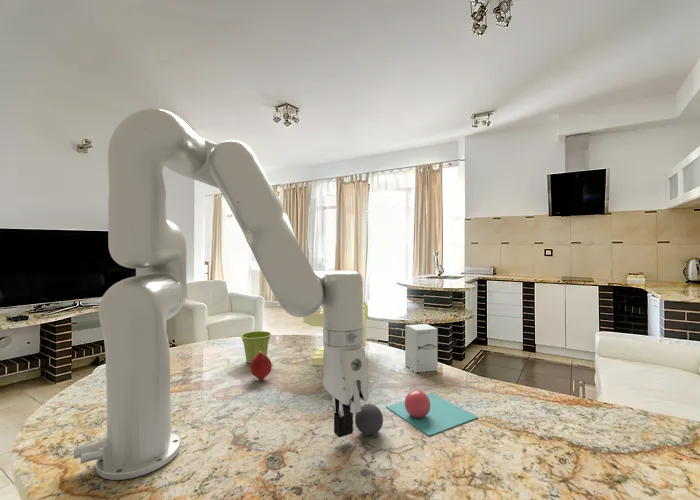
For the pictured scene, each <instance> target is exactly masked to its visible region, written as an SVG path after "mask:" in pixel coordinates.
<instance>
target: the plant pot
mask: <svg viewBox="0 0 700 500" xmlns="http://www.w3.org/2000/svg"><path fill="white" fill-rule="evenodd" d="M271 336H272V333H271V332H270V331H264V330H263V331H262V330H258V331H257V330H255V331H249V332H245V333H242V334H241V335H240V338H241V339H242V342H243V346H244V352H245V353H244V354H245V360H246V361H245V362H246V363H247V364H251V361H252V360H253V358H254V357H255V356H257V355H258V353H259V351H261V352H262V353H263V354H265V355H266V356H267V357H268V348H269V341H270V339H271V338H270V337H271Z"/></svg>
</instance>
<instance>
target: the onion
mask: <svg viewBox="0 0 700 500" xmlns="http://www.w3.org/2000/svg"><path fill="white" fill-rule="evenodd" d="M249 364H250V366H249V370H250V371H249V372H250V373H251V374H252V375H253V376H254V377H255V378H257V380H259V381H262V380H263V379H265V378H266V377H267V376H268V375H269V374H271V371H272V368H273V366H272V365H273V364H272V360H271V359H270V357H268V355H267V356H266V355H265V354H263V353H262V352H261V351H259V353H258V355H257V356H255V357H254V358H253V360H252V361H251V363H249Z"/></svg>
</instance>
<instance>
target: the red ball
mask: <svg viewBox="0 0 700 500" xmlns="http://www.w3.org/2000/svg"><path fill="white" fill-rule="evenodd" d="M404 401H405V408H406V411H407V412H408V413H409V415H411V416H412V417H414V418H423V417H425V416H426V415H427V414H428V413H429V411H430V407H431V404H430V400H429V398H428V396H427V395H426V393H425V392H423V391H422V390H418V389H417V390H416V389H415V390H412V391H410V392H408V393H407V395H405V398H404Z"/></svg>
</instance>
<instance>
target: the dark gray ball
mask: <svg viewBox="0 0 700 500" xmlns="http://www.w3.org/2000/svg"><path fill="white" fill-rule="evenodd" d="M354 422H355V426H356V428H357V429H358V431H359V432H360V433H361V434H363V435H366V436H373V435H376V434H377V433H378V432H380V430H381V429H382V427H383V423H384V415H383V412H382V411H381V410H380V408H379V407H378V406H376V405H375V404H371V403H366V404H363V405H361V412H358V413H355V415H354Z"/></svg>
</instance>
